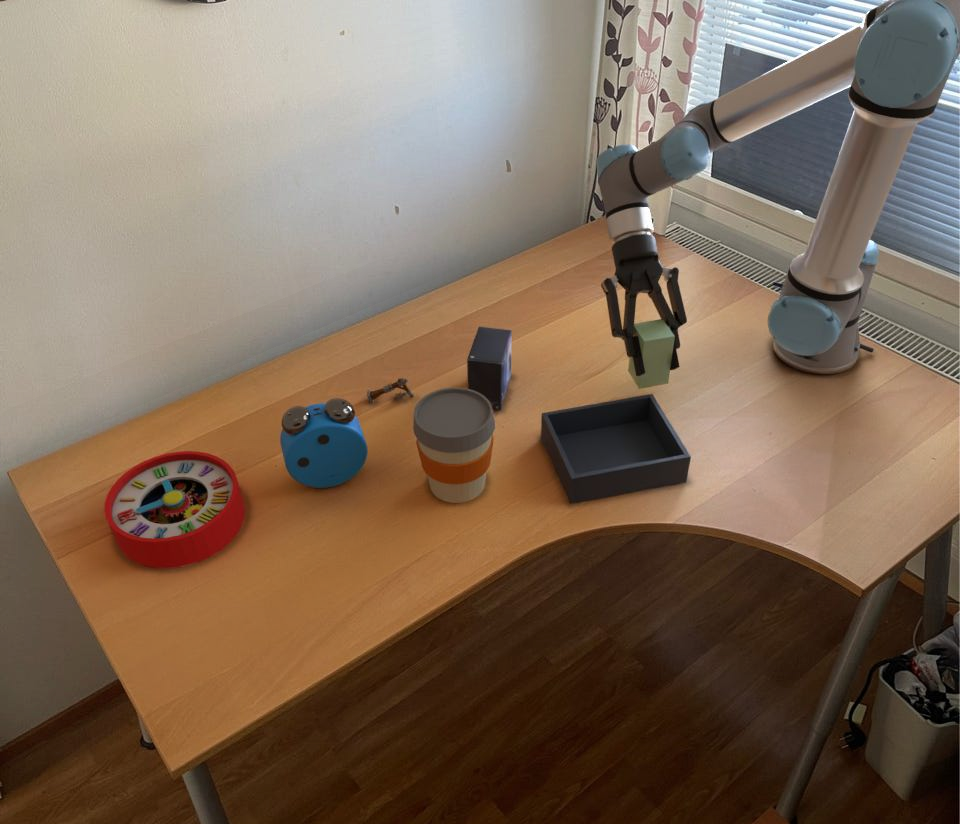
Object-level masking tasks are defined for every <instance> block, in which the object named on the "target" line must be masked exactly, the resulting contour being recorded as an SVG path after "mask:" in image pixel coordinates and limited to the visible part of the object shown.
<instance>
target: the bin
mask: <svg viewBox="0 0 960 824" xmlns="http://www.w3.org/2000/svg"><path fill="white" fill-rule="evenodd" d="M540 421H541V423H540V440H541V442H542V444H543V446H544V448H545V451H546V453H547V456H548V458H549V460H550V462H551V465H552V467H553V469H554V472H555V474H556V476H557V478H558V479H559V483H560V485H561V487H562V490H563V492H564V494H565V497H566V498H567V501H568V503H569V505H574V504H579V503H585V502H589V501H590V502H591V501H596V500H601V499H605V498H611V497H612V498H613V497H616V496H621V495H622V496H623V495H627V494H633V493H637V492H642V491H648V490H653V489H659V488H665V487H669V486H675V485H679V484H680V485H681V484H684V483H685V484H686V483H687V481H688V475H689V470H690V464H691V458H692V456H691V455H690V453H689V451H688V449H687V447H685V444H684V443H683V441H682V440H681V438H680V437H679V435H678V433H677V432H676V430H675V428H674V427H673V425H672V423H671V422H670V420H669V418H668V417H667V415H666V413H665V412H664V410H663V409H662V407H661V405H660V404H659V402H658V400H657V399H656V397H655V395H654V394H653V393H649V394H644V395H638V396H632V397H627V398H620V399H615V400H609V401H603V402H597V403H591V404H587V405H581V406H574V407H568V408H563V409H557V410H551V411H547V412H541V419H540Z"/></svg>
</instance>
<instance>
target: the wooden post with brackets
mask: <svg viewBox="0 0 960 824" xmlns="http://www.w3.org/2000/svg"><path fill="white" fill-rule="evenodd" d="M408 382H409V378H407V377H402V378H401V377H399V378H397V381H394V382H393V383H392V382H391V383H388V384H387V385H385V386H383V387H382V388H379V389H375V390H370V389H367V391H366V398H367V399H368V400H369V401H370V403H371V404H373V403H375V402H374V401H375V399H377V398H379V397H380V396H382V395H384V394H388V393H390V392H392V391H395V389H399V390H403V391H404V392H402V391H400V392H399V393H395V396H393V400H394V401H395V400H397V401H399V400H401V399H402V400H404V397H405V396H406V395H408V396H409V398H411V399H412V398H414V393H413V392H412V390H411V389H410V387H408V385H407V383H408Z"/></svg>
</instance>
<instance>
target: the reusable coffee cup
mask: <svg viewBox="0 0 960 824" xmlns="http://www.w3.org/2000/svg"><path fill="white" fill-rule="evenodd" d="M412 421H413V422H412V423H413V424H412V426H413V427H412V430H413V435H414V437H415V438H416V443H415V444H416V449H417V453H418V456H419V457H418V458H419V460H420V464H421V467H422V469H423V471H424V473H425V474H426V476H427V477H426V478H427V480H428V483H429V488H430V490H431V492H432V494H433V495H434V496H435V497H436V498H438V499H439V500H441V501H444V502H446V503H452V504H460V503H466V502H469V501H472V500H474V499H475V498H477V497H479V496H480V495H481V494H482V493H483V491H484V489H485V487H486V486H485V485H486V479H487V472H488V470H489V469H490V466H491V462H492V454H493V449H494V440H495V439H494V431H495V429H496V421H495V415H494V410H493V409H492V405H491V403H490V401H489V400H488V399H487V398H486V397H485V396H484V395H482V394H481V393H479V392H476V391H474V390H470V389H468V388H466V387H445V388H439V389H436V390H434V391H431V392H429V393H428V394H426V395H424V396H423V397H422V398H421V399H419V401H418V402H417V403H416V405H415V407H414V409H413V420H412Z"/></svg>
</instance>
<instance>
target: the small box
mask: <svg viewBox="0 0 960 824" xmlns="http://www.w3.org/2000/svg"><path fill="white" fill-rule="evenodd" d="M512 333H513V330H512V329H503V328H496V327H495V328H494V327H487V326H478V328H477V330H476V334H475V336H474V339H473V342H472V345H471V348H470V350H469V352H468V355H467V359H466V373H467V374H466V375H467V376H466V378H467V389H470V390H474V391H476V392H479V393H481V394H482V395H484V396H485V397H486V398H487V399H488V400H489V401H490V403H491V405H492V409H493V411H502V409H503V405H504V402H505V399H506V395H507V392H508V388H509V385H510V382H511V379H512V354H513V353H512V348H513V347H512V344H513V343H512V341H513V340H512V337H513V334H512Z"/></svg>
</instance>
